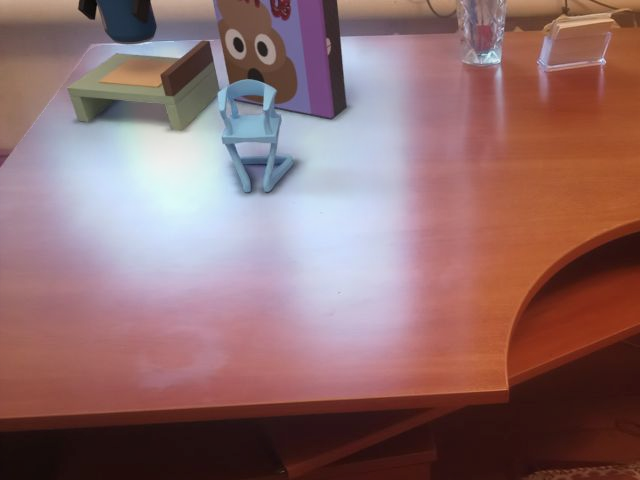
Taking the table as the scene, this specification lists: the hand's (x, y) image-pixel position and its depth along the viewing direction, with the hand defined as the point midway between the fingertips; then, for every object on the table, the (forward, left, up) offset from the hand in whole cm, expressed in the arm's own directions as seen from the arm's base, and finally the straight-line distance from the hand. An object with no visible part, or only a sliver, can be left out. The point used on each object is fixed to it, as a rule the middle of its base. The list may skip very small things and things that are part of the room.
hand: (112, 16), depth 99 cm
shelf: (0, +3, -14) cm, 15 cm away
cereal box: (+20, +8, -14) cm, 26 cm away
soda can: (0, +3, -4) cm, 5 cm away
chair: (+24, -15, -14) cm, 31 cm away
